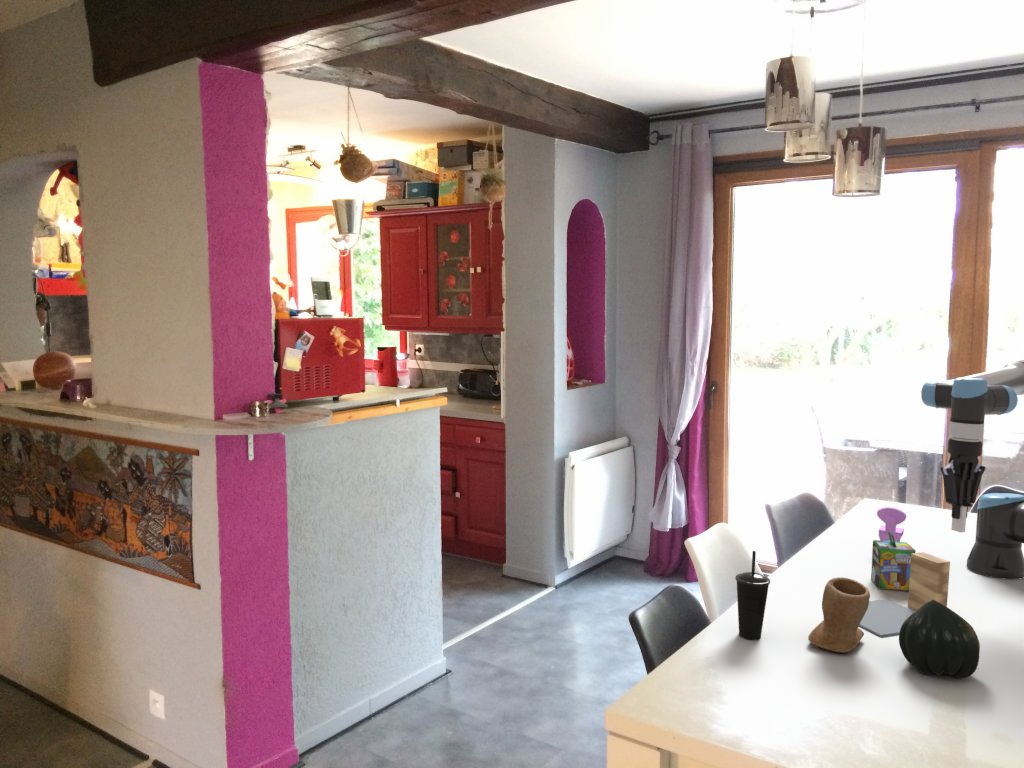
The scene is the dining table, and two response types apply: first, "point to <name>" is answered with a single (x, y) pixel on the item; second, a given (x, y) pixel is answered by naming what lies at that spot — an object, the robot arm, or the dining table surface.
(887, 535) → the toy chair
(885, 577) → the chalk box
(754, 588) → the drinking cup
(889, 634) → the mat
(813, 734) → the dining table surface
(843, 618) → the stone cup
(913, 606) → the oak slab
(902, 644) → the squash
